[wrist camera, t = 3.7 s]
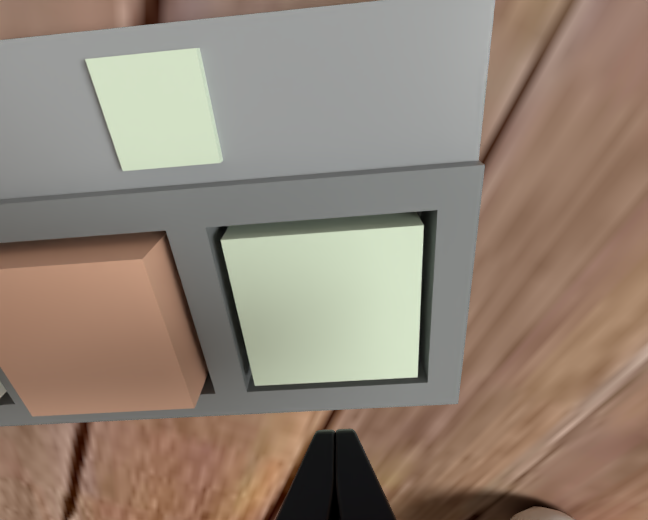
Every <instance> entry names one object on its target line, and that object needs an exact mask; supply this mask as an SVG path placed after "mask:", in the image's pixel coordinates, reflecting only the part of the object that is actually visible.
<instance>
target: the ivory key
mask: <svg viewBox="0 0 648 520" xmlns="http://www.w3.org/2000/svg"><path fill="white" fill-rule="evenodd" d="M6 392H7V391H6V389H5V388H4V386H3V385H2V383H1V382H0V398H1V397H2V396H3V395H4V394H5V393H6Z"/></svg>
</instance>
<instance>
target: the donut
mask: <svg viewBox="0 0 648 520" xmlns="http://www.w3.org/2000/svg"><path fill="white" fill-rule="evenodd" d="M510 520H575V519H573V518H572V517H570V516H568V515H567V514H565V513H562V512H560V511H558V510H554V509H549V508H544V507H531V508H528V509H526V510H524V511H521V512H519V513H517V514H515V515H514V516H513V517H512V518H511V519H510Z"/></svg>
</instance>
